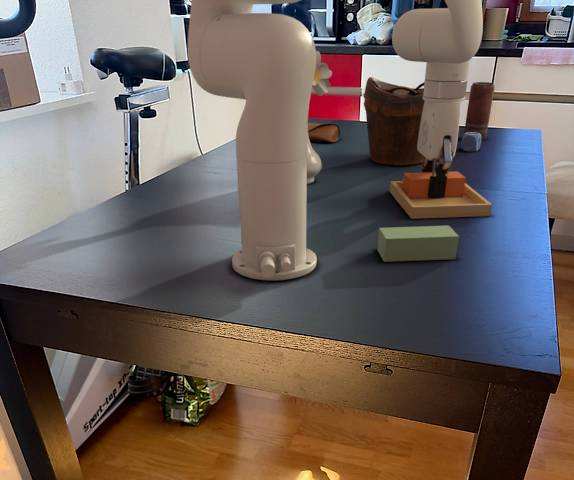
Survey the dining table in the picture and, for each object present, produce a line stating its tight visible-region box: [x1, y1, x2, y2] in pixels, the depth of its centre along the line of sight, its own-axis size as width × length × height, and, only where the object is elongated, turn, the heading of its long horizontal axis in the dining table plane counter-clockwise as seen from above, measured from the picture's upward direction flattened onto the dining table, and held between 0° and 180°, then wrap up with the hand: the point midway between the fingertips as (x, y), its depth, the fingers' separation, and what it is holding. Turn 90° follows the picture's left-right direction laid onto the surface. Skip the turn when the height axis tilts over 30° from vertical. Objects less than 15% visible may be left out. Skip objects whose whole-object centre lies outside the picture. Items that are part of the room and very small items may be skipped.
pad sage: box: [377, 225, 460, 263], centre depth 88 cm, size 5×11×4 cm, turn 94°
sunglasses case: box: [308, 122, 341, 144], centre depth 163 cm, size 18×7×7 cm
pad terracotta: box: [402, 171, 467, 198], centre depth 113 cm, size 5×11×4 cm, turn 94°
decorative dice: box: [460, 132, 482, 153], centre depth 148 cm, size 4×4×4 cm
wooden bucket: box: [363, 76, 425, 167], centre depth 136 cm, size 18×20×18 cm
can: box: [463, 81, 495, 141], centre depth 158 cm, size 6×6×14 cm
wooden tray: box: [389, 180, 493, 220], centre depth 110 cm, size 18×15×2 cm
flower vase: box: [307, 50, 333, 185], centre depth 119 cm, size 13×18×25 cm
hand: (431, 191), depth 114 cm, fingers closed on pad terracotta, 4 cm apart
